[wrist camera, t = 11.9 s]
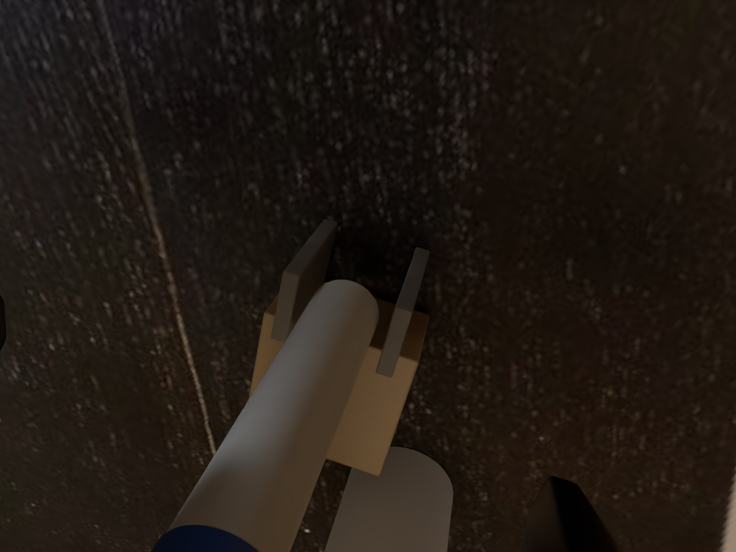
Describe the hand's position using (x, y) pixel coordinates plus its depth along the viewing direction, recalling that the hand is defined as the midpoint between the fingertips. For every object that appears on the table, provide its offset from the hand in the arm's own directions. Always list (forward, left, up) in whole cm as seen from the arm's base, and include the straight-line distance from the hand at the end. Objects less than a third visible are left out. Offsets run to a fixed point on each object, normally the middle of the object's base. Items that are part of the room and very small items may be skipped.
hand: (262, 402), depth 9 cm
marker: (0, +2, -2) cm, 3 cm away
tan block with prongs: (0, +5, -11) cm, 12 cm away
